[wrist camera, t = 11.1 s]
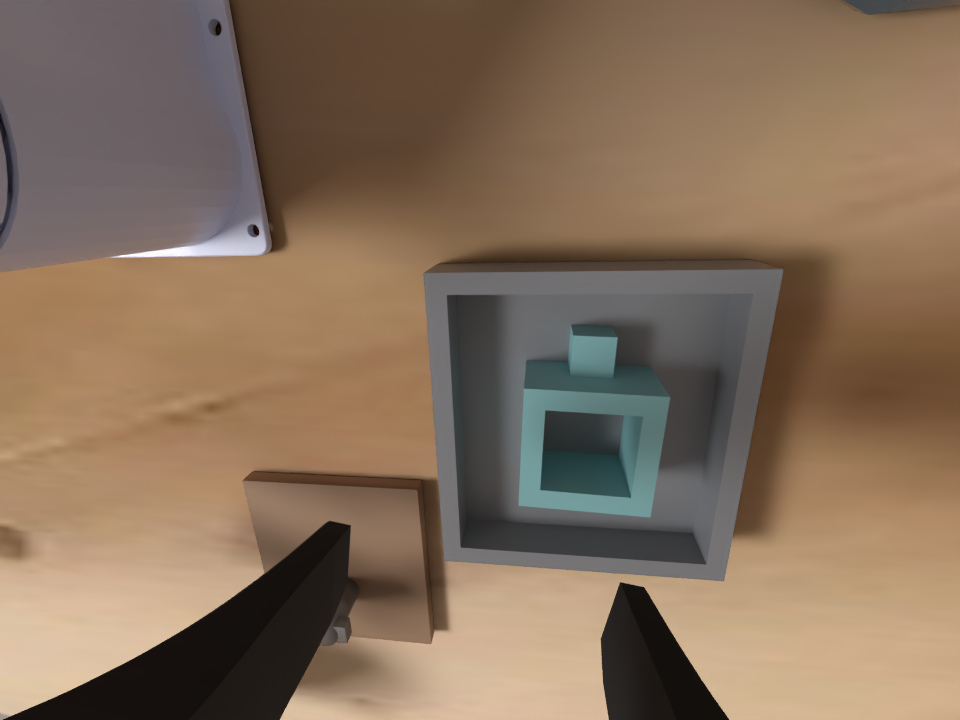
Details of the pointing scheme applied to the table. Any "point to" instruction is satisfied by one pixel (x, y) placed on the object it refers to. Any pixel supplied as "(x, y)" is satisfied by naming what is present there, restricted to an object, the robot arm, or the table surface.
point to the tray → (641, 342)
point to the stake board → (354, 546)
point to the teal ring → (596, 390)
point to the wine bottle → (895, 5)
